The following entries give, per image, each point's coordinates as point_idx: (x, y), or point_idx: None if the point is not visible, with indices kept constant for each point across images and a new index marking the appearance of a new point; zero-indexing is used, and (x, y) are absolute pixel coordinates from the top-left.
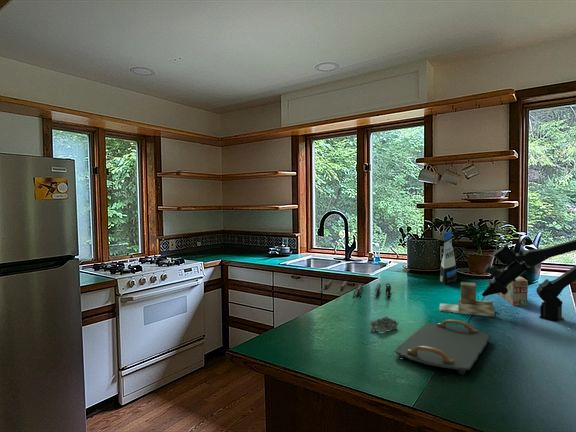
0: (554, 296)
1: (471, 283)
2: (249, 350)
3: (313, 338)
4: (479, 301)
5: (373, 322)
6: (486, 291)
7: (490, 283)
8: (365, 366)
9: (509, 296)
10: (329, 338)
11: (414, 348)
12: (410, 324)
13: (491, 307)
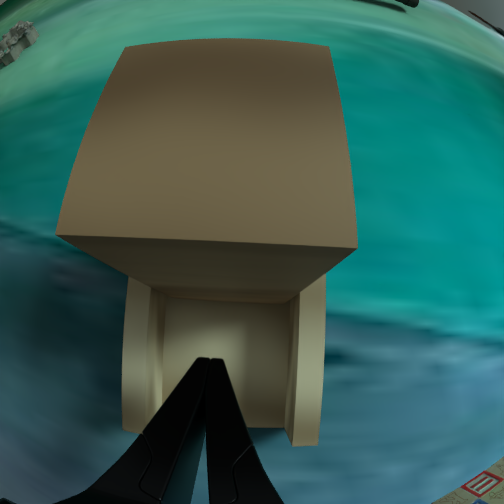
0: None
1: (267, 163)
2: (3, 5)
3: (12, 13)
4: (297, 336)
5: (19, 25)
6: (158, 422)
7: (2, 498)
8: None
9: (494, 489)
10: (5, 23)
11: None
12: (28, 70)
13: (123, 407)
